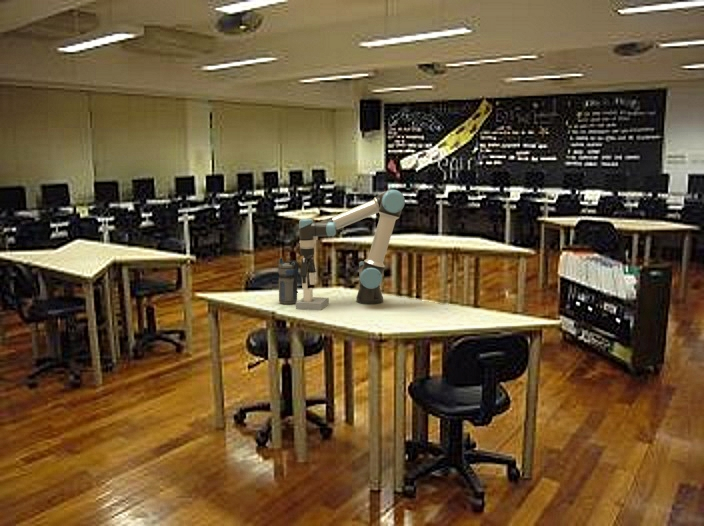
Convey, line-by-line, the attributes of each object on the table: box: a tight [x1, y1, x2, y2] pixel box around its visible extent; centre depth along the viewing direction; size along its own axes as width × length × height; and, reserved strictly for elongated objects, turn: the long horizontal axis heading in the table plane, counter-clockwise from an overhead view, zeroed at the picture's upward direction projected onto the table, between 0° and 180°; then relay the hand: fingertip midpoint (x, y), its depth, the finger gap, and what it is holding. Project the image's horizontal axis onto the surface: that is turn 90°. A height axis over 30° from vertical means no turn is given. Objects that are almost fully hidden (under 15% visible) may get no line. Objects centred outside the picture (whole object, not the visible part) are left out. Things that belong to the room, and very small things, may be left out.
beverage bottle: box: [277, 257, 300, 305], centre depth 347 cm, size 10×13×25 cm
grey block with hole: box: [295, 296, 330, 311], centre depth 339 cm, size 14×16×4 cm
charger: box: [302, 287, 314, 302], centre depth 337 cm, size 4×4×10 cm
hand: (308, 286), depth 337 cm, fingers open, 13 cm apart
